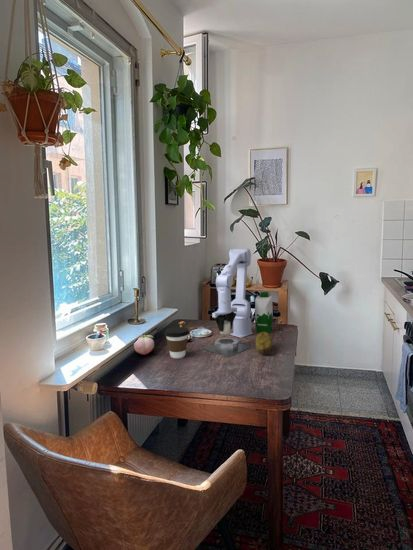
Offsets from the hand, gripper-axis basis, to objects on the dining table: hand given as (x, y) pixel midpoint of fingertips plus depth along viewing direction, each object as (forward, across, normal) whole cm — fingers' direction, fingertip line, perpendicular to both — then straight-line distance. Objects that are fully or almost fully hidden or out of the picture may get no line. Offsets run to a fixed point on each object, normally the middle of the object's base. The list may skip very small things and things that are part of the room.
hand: (225, 329), depth 188 cm
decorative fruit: (+9, +30, -22) cm, 39 cm away
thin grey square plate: (+9, 0, +1) cm, 9 cm away
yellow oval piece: (+9, -8, +16) cm, 20 cm away
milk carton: (+9, -33, -4) cm, 34 cm away
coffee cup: (+9, +21, -9) cm, 25 cm away
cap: (+2, 0, 0) cm, 2 cm away
